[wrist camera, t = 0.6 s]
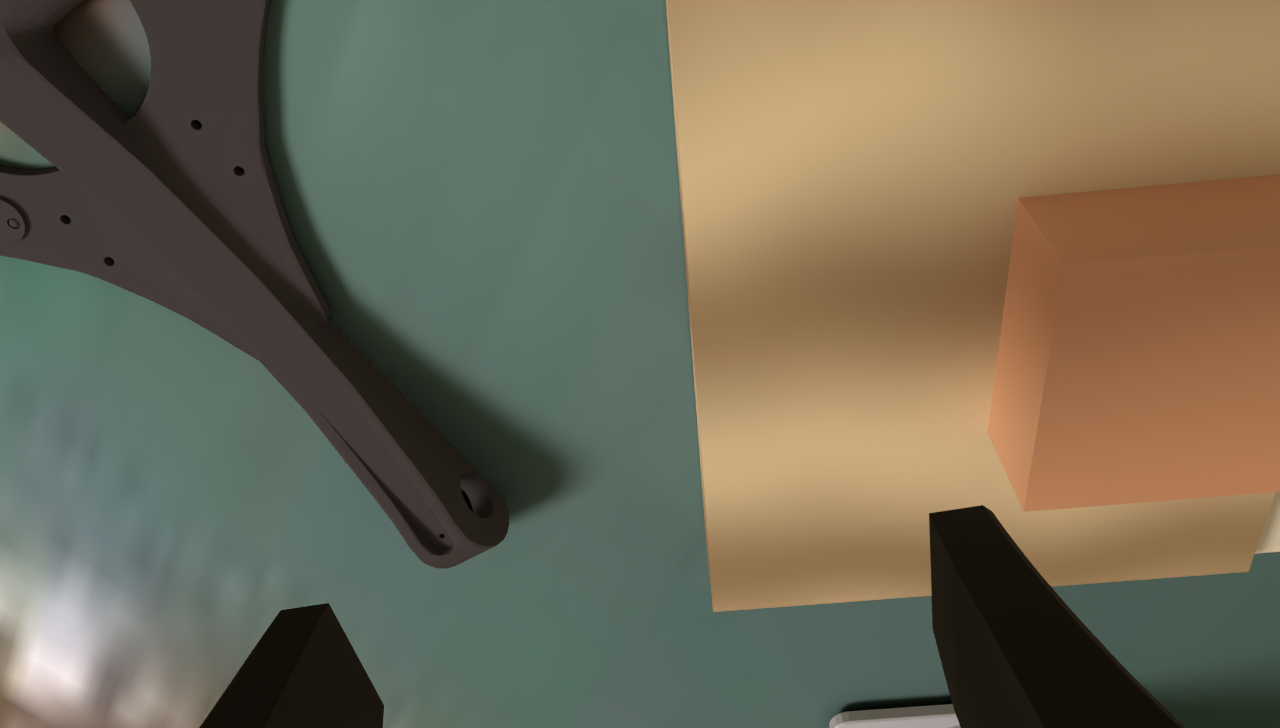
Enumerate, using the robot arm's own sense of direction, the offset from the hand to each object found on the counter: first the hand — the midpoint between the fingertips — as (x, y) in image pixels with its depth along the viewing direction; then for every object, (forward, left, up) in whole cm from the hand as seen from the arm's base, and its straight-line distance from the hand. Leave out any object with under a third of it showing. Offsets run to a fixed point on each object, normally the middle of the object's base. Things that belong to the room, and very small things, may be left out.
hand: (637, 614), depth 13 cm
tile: (-1, -9, -7) cm, 12 cm away
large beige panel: (-1, -7, -10) cm, 12 cm away
